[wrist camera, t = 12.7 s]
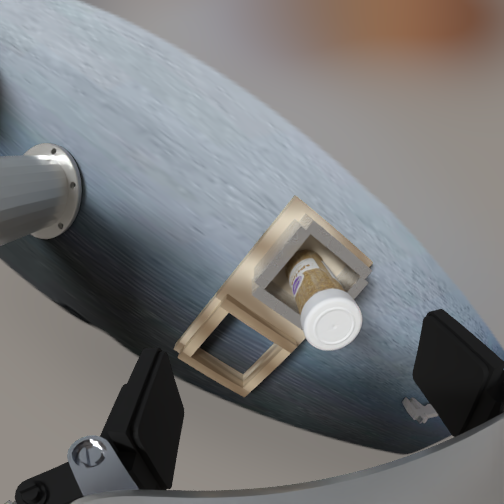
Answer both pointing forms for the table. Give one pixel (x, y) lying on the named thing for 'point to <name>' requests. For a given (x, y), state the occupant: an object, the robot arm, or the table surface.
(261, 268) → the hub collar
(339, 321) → the sprinkles bottle
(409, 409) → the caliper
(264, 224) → the table surface
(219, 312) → the stand board
